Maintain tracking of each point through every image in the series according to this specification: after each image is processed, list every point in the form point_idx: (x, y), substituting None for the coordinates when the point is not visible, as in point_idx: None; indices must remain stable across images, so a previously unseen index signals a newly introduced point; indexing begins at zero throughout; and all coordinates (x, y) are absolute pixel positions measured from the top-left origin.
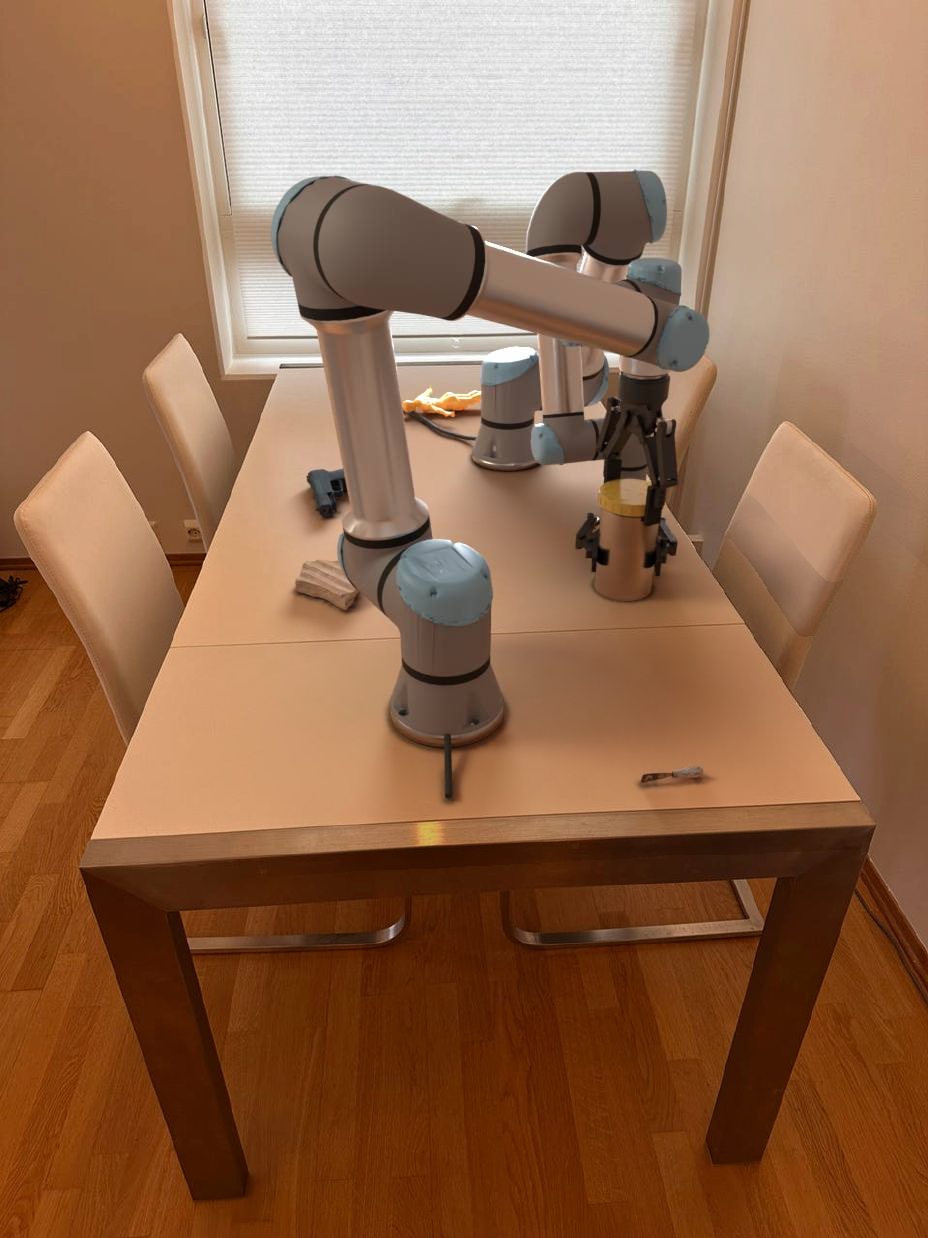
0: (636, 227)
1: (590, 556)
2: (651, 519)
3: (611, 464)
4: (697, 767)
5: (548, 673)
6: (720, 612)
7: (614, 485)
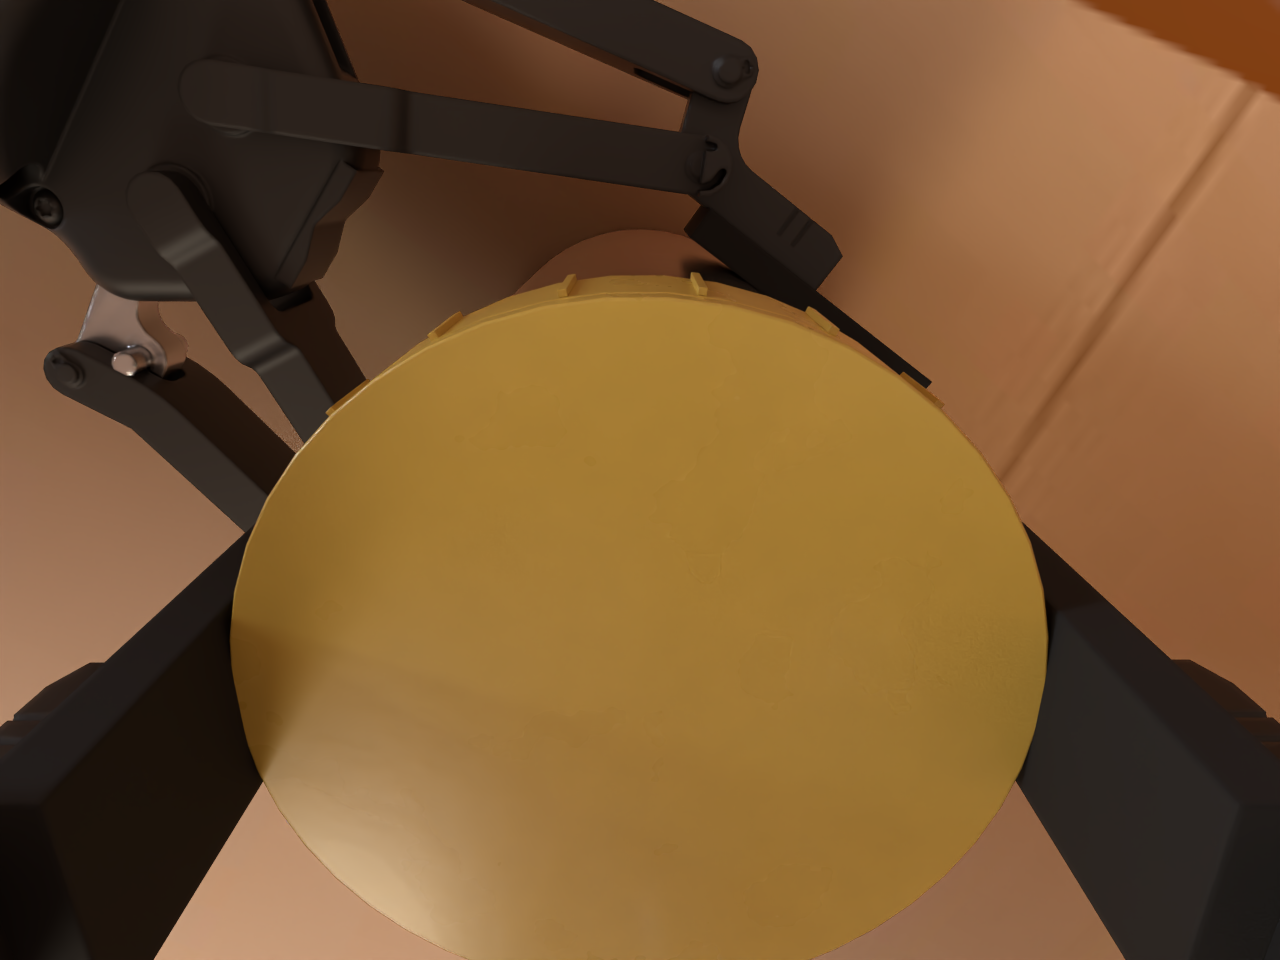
0: None
1: None
2: None
3: (117, 937)
4: None
5: (991, 925)
6: (1125, 75)
7: (394, 775)
